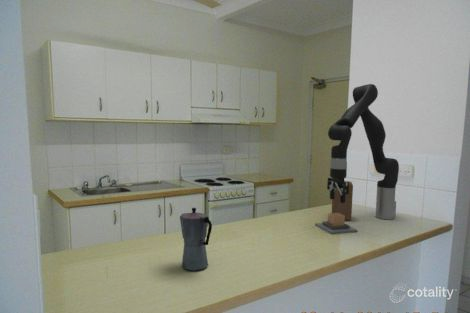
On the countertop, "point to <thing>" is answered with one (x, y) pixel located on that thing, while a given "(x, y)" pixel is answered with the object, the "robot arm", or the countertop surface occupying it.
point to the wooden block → (343, 207)
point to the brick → (336, 219)
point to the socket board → (335, 228)
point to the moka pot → (195, 239)
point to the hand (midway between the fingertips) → (337, 201)
